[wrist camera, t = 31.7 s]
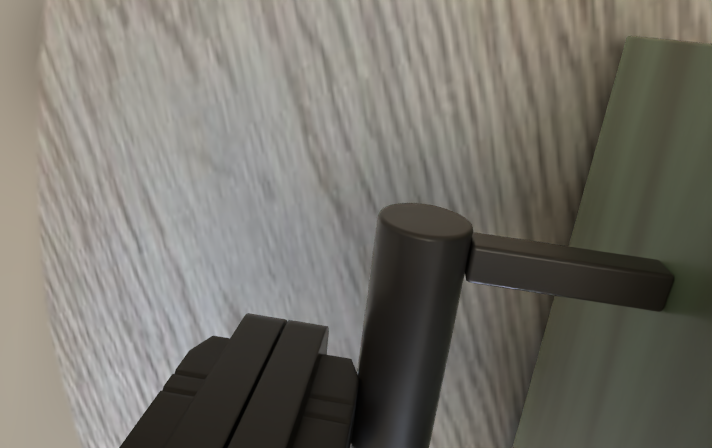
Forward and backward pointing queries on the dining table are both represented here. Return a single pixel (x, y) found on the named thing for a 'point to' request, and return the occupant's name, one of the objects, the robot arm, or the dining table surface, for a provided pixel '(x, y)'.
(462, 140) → the dining table surface
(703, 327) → the drawer
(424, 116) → the dining table surface
